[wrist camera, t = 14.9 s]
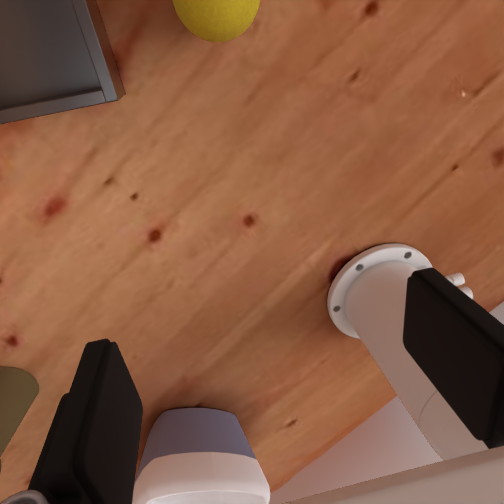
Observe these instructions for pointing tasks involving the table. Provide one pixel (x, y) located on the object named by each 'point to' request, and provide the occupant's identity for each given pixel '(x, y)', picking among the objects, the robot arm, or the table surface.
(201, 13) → the lemon
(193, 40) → the table surface
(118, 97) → the dark wooden tray
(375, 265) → the robot arm
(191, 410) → the bowl
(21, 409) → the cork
